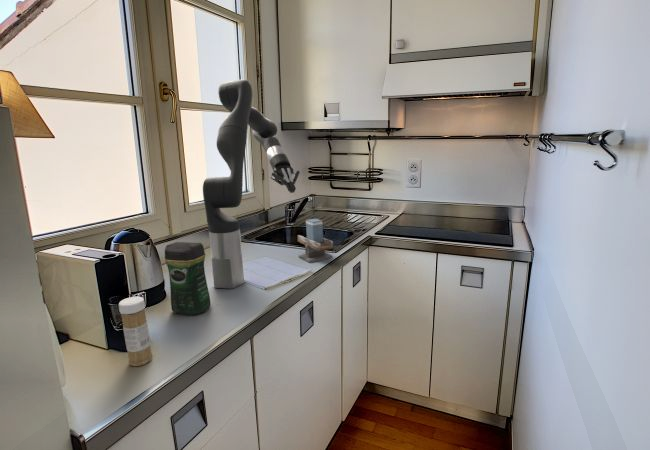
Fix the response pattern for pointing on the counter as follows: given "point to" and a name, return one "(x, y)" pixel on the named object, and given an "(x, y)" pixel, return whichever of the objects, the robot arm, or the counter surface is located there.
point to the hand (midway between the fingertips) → (293, 191)
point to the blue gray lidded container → (314, 230)
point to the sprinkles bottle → (135, 330)
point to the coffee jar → (187, 278)
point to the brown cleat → (315, 249)
